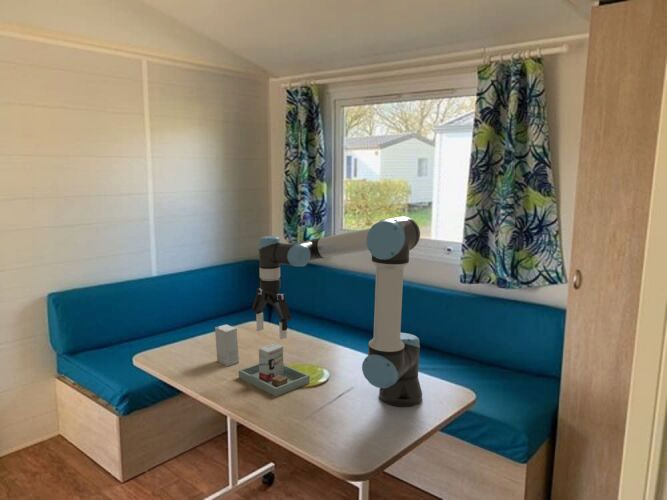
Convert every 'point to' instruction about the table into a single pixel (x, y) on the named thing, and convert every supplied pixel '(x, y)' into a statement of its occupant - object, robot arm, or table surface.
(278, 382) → the walnut block
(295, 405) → the table surface
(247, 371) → the tray
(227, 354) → the skincare box
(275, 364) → the ink box
